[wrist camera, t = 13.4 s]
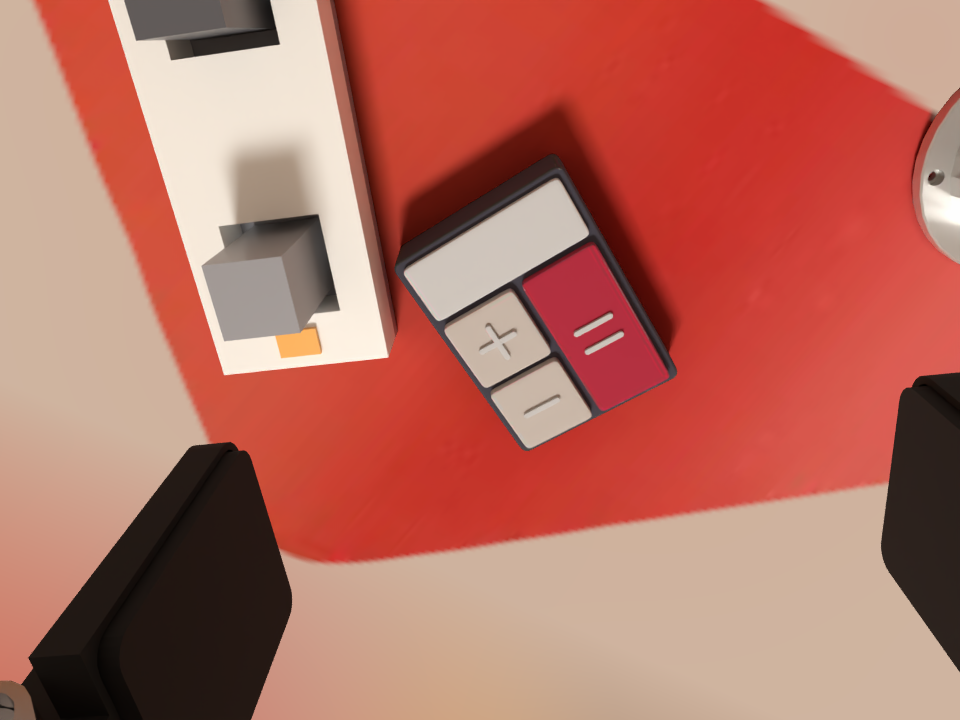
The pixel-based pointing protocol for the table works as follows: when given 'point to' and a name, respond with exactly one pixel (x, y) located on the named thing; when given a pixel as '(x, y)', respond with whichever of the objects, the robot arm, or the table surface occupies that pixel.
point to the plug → (198, 18)
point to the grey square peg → (269, 279)
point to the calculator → (535, 305)
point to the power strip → (269, 169)
